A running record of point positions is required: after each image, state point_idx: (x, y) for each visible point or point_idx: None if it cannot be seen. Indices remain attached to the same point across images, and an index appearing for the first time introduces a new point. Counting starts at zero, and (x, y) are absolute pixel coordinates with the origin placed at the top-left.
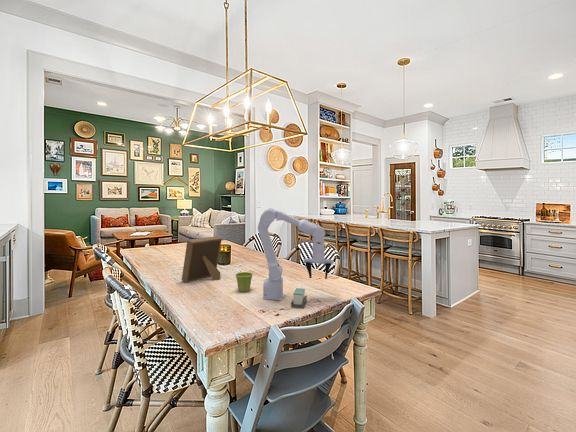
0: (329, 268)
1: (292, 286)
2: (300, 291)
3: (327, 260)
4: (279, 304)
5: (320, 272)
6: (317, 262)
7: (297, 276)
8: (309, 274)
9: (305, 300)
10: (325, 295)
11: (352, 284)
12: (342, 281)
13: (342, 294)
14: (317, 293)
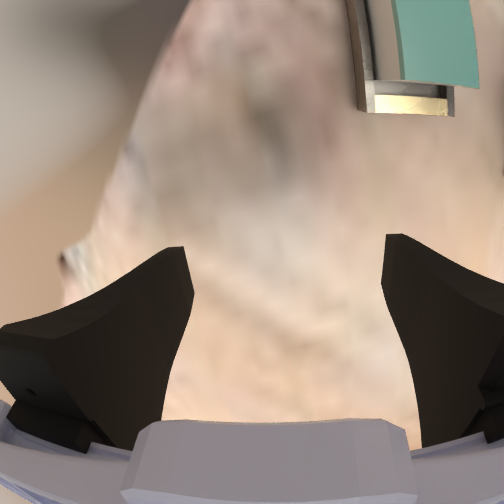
0: (30, 320)
1: None
2: None
3: (22, 490)
4: (495, 11)
5: None
6: (256, 434)
7: (415, 441)
8: (424, 248)
9: (356, 35)
10: (242, 252)
11: (161, 418)
12: None
13: None
14: (305, 275)
